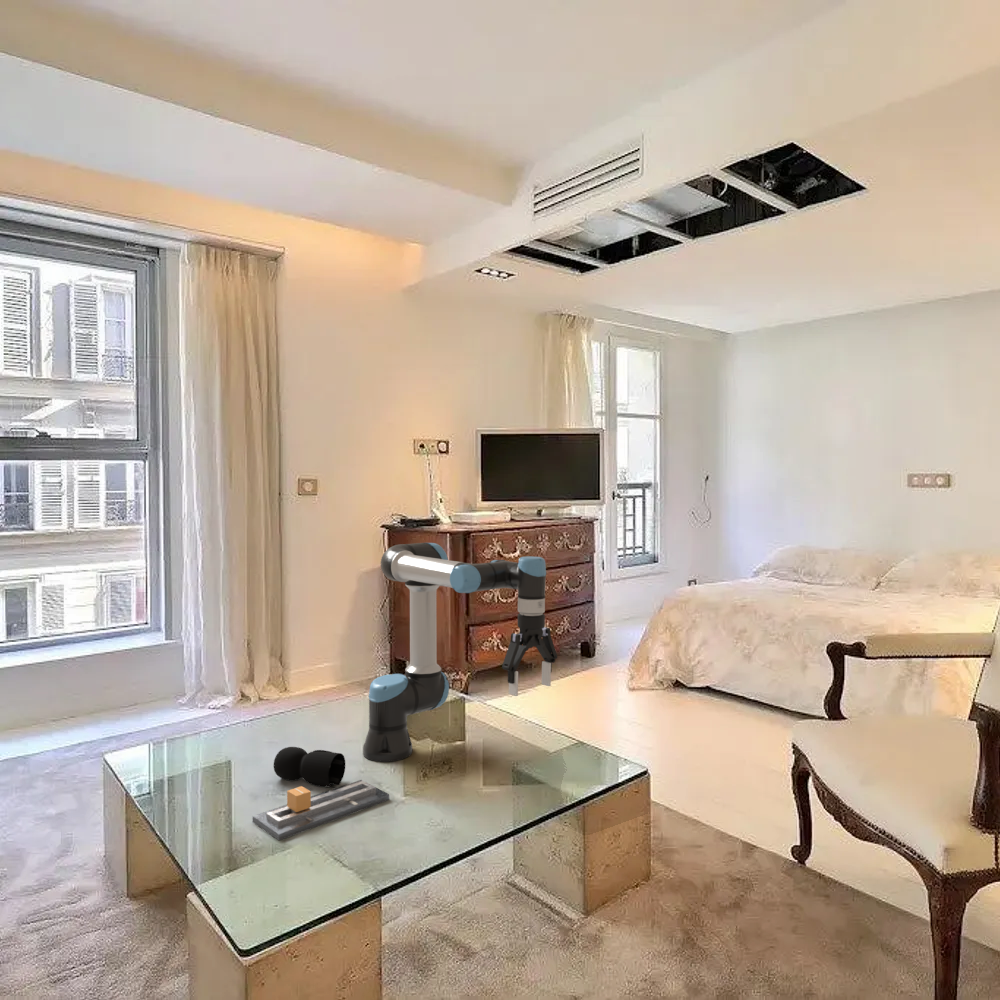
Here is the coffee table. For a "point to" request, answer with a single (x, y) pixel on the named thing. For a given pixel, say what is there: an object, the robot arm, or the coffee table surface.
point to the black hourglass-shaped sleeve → (310, 766)
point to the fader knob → (298, 799)
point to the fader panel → (320, 809)
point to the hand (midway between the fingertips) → (530, 690)
